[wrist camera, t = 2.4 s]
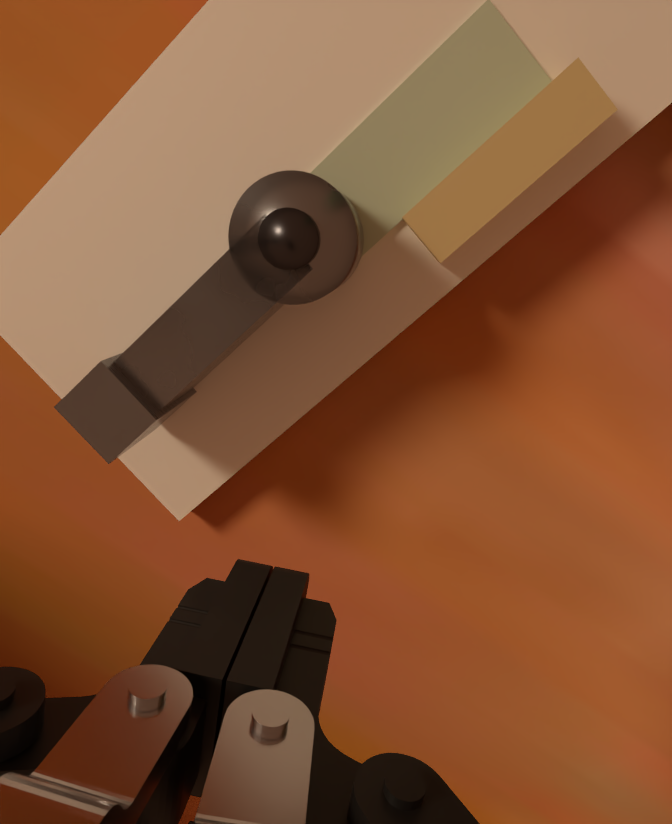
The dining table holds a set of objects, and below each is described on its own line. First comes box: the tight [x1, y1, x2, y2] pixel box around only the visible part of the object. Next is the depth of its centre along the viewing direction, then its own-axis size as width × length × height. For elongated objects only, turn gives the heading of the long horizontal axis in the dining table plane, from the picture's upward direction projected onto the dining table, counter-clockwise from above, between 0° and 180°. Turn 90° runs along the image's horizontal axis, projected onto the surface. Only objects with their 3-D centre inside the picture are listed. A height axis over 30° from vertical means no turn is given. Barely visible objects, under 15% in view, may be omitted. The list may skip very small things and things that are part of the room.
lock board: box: [0, 0, 672, 521], centre depth 22 cm, size 26×13×3 cm, turn 131°
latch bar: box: [54, 170, 364, 464], centre depth 22 cm, size 12×4×4 cm, turn 131°
